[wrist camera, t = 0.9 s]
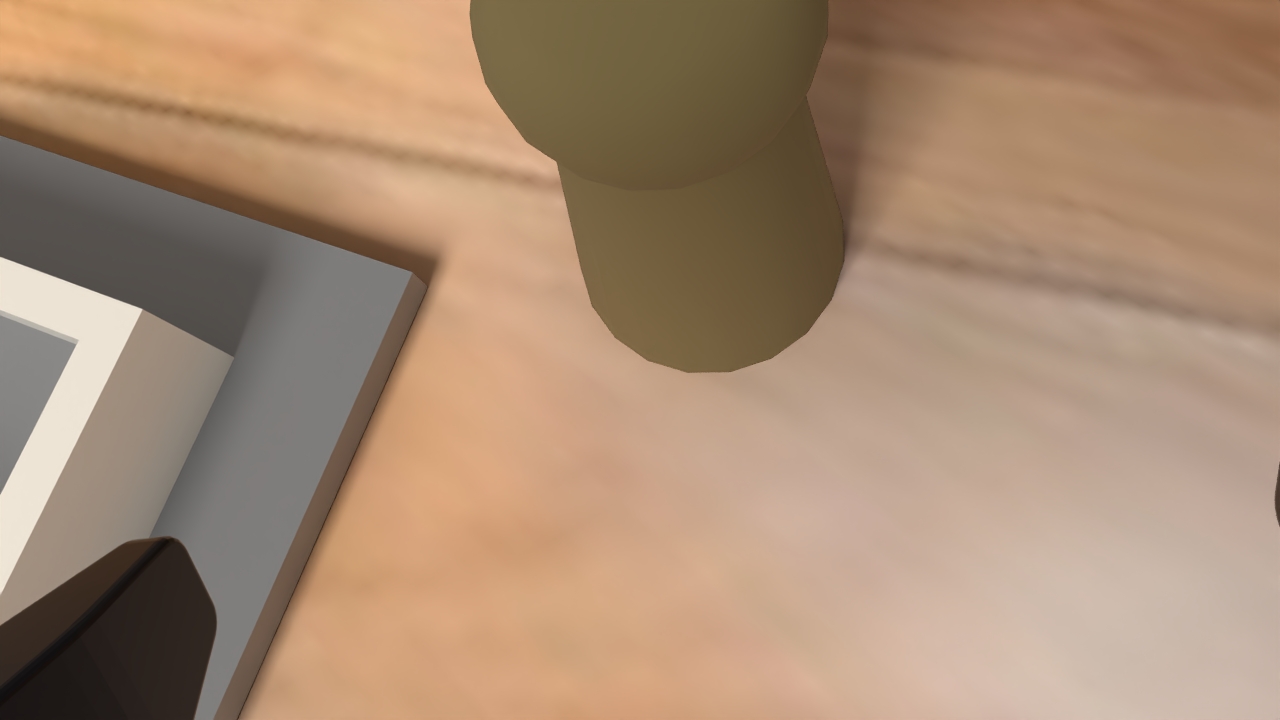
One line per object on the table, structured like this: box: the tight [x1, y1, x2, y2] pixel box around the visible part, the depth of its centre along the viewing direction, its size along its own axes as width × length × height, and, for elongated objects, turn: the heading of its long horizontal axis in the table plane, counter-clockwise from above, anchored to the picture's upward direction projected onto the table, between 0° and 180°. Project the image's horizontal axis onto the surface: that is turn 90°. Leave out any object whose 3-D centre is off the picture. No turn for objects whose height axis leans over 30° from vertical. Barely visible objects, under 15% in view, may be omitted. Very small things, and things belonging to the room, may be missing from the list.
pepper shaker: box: [470, 0, 844, 373], centre depth 19 cm, size 6×6×11 cm
